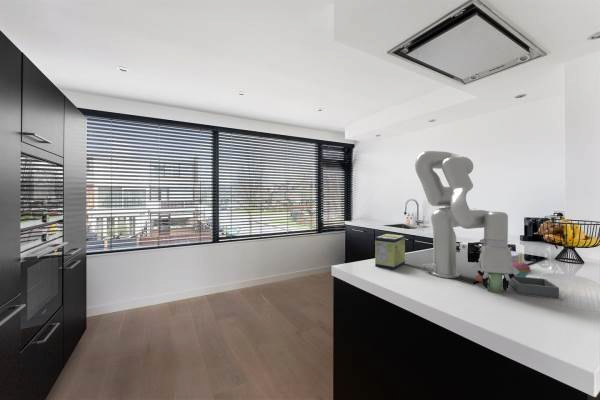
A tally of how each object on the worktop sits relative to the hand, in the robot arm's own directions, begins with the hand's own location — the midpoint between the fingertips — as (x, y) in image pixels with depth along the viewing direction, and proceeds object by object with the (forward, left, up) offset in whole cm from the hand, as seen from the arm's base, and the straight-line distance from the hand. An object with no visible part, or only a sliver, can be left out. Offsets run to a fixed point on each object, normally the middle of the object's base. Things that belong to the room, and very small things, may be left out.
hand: (495, 288), depth 105 cm
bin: (+13, +4, -1) cm, 14 cm away
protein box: (-41, +24, -1) cm, 48 cm away
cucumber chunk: (0, 0, -1) cm, 1 cm away
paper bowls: (+12, +39, -1) cm, 41 cm away
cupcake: (+14, +22, -1) cm, 26 cm away
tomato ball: (-3, +9, -1) cm, 10 cm away
